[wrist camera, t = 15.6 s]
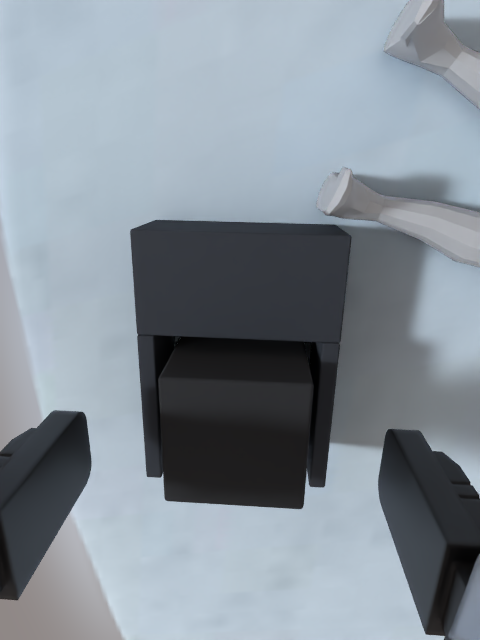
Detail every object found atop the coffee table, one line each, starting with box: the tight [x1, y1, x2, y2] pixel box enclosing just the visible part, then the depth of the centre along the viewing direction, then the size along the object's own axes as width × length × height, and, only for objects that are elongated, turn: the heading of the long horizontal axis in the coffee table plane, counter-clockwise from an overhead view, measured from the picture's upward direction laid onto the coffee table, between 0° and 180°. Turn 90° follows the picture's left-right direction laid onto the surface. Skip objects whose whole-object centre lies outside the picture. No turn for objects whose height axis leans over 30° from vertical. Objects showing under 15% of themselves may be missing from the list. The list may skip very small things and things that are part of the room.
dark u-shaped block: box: [130, 220, 351, 487], centre depth 13 cm, size 8×6×2 cm
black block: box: [158, 336, 314, 509], centre depth 13 cm, size 4×4×4 cm
